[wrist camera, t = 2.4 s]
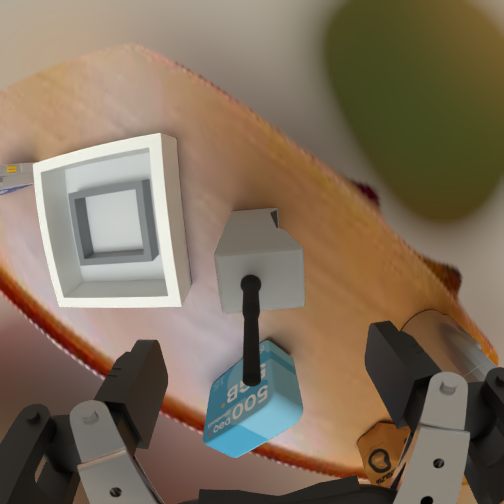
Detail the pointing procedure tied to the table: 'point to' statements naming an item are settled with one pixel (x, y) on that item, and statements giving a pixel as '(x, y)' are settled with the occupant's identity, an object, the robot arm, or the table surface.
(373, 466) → the coffee package
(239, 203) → the table surface
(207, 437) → the data package
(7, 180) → the walkman
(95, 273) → the box
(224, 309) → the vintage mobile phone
